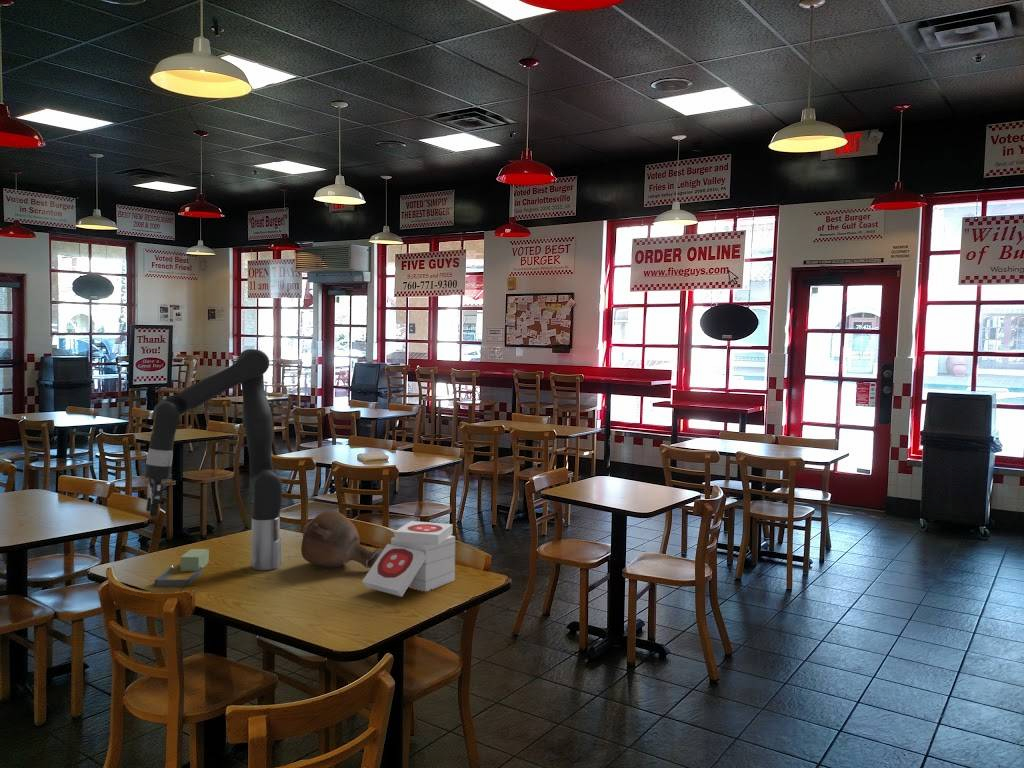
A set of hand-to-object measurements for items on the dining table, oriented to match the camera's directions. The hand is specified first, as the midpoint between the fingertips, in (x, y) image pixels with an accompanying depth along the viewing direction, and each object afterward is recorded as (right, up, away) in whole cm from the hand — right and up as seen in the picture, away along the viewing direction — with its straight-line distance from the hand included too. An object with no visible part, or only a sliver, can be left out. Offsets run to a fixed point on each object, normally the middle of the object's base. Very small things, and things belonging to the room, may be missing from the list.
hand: (151, 513), depth 246 cm
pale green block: (+6, -22, +19) cm, 29 cm away
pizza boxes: (+83, -24, +2) cm, 87 cm away
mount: (+7, -22, +5) cm, 24 cm away
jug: (+56, -23, +21) cm, 64 cm away
